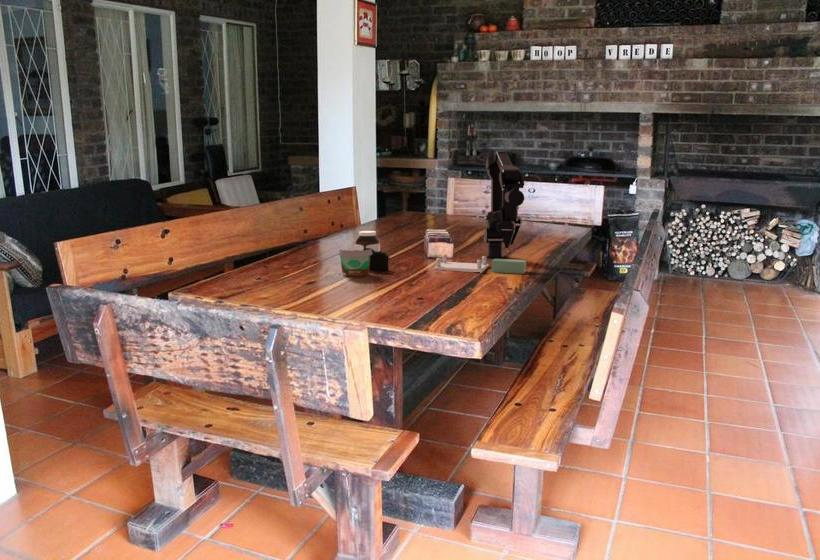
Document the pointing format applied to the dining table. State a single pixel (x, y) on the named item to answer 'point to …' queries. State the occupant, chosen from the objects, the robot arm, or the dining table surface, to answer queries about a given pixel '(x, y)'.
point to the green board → (508, 266)
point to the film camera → (378, 261)
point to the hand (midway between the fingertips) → (509, 246)
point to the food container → (355, 263)
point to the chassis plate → (461, 265)
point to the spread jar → (367, 241)
